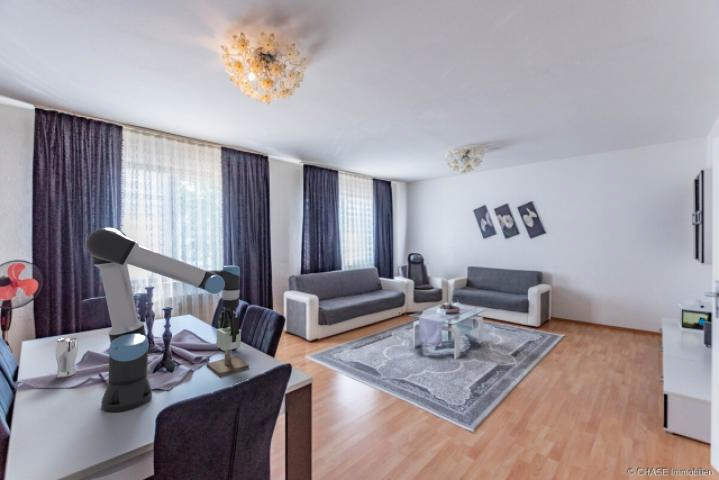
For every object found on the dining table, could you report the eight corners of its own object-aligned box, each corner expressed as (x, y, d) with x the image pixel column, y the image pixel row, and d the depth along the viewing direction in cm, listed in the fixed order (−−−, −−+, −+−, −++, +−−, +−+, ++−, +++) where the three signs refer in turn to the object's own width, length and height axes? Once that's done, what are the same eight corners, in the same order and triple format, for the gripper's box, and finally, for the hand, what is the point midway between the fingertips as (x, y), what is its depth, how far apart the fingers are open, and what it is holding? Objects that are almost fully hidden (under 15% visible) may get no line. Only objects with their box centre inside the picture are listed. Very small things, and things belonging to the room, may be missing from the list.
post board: (219, 376, 140) (220, 349, 140) (206, 366, 150) (207, 341, 149) (248, 368, 150) (249, 343, 150) (235, 358, 160) (236, 335, 160)
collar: (223, 350, 144) (224, 333, 144) (216, 346, 149) (217, 329, 149) (240, 346, 150) (241, 330, 150) (232, 342, 155) (233, 326, 155)
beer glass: (77, 374, 135) (79, 340, 135) (55, 379, 130) (56, 343, 130) (76, 369, 140) (77, 336, 140) (54, 374, 135) (55, 339, 135)
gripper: (248, 301, 145) (246, 350, 145) (228, 293, 159) (226, 338, 160) (232, 303, 139) (230, 354, 140) (213, 295, 154) (211, 341, 154)
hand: (228, 345), depth 150 cm, fingers closed on collar, 8 cm apart
